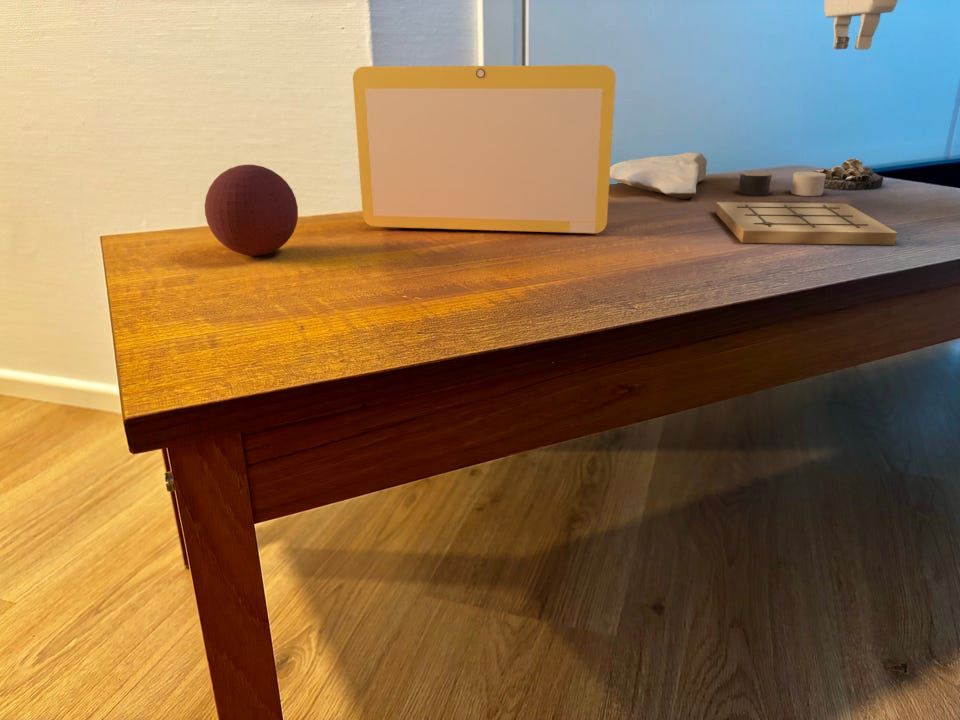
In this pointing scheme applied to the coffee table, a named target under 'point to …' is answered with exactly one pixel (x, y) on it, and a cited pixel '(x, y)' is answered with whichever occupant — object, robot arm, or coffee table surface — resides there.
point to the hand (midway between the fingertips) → (850, 49)
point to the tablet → (485, 146)
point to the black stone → (754, 183)
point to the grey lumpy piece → (851, 176)
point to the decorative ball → (251, 210)
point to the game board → (803, 224)
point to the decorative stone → (663, 173)
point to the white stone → (808, 183)
